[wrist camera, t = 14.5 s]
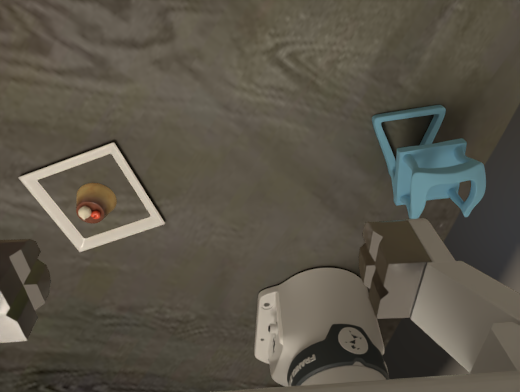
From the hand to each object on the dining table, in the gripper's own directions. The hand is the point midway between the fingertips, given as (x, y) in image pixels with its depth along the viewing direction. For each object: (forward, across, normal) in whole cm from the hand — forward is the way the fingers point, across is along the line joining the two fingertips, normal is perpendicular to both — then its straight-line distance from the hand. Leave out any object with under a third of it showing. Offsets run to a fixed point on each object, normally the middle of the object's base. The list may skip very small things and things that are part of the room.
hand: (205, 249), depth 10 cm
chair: (+33, -20, +15) cm, 42 cm away
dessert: (+34, +16, +20) cm, 43 cm away
